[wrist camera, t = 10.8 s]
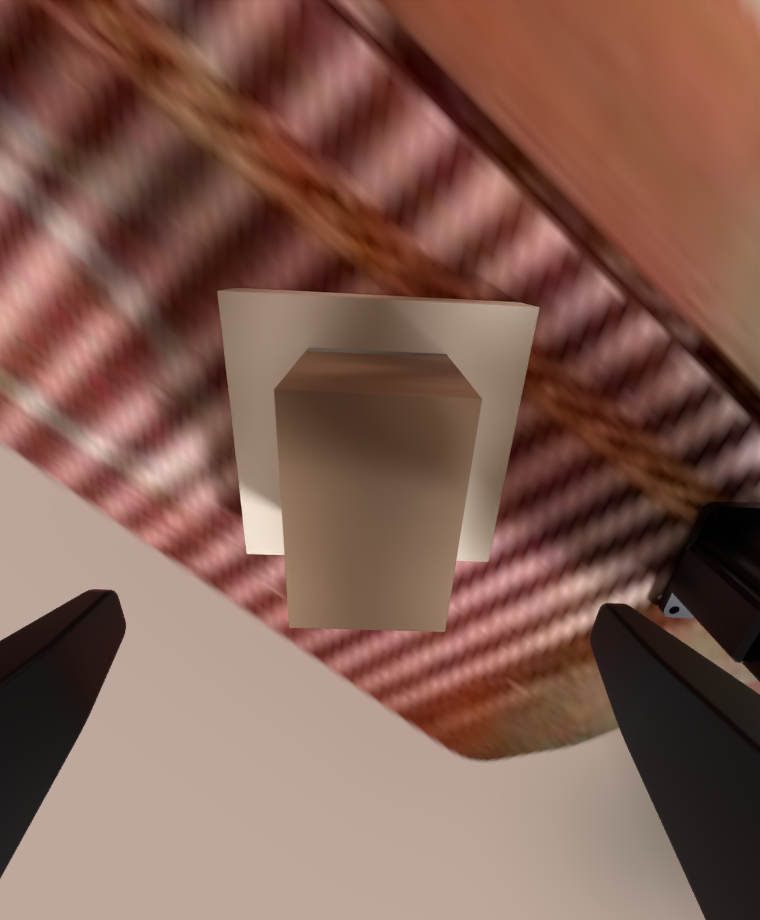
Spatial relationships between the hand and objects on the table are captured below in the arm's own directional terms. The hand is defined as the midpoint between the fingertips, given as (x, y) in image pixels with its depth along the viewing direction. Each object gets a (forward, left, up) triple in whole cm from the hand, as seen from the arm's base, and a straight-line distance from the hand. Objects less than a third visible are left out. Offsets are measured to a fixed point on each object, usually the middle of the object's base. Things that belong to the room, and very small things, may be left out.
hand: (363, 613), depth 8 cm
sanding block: (0, 0, -8) cm, 8 cm away
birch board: (0, 0, -10) cm, 10 cm away
